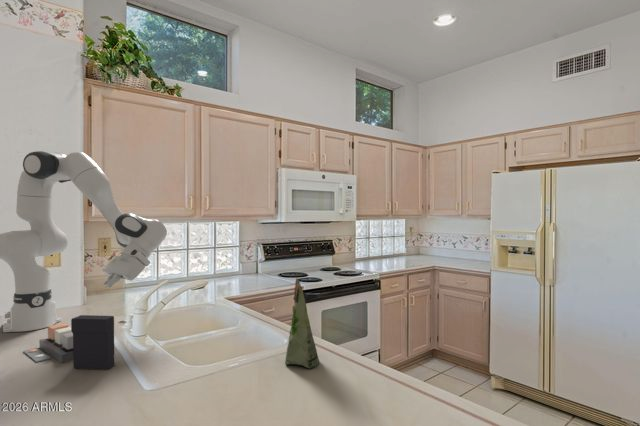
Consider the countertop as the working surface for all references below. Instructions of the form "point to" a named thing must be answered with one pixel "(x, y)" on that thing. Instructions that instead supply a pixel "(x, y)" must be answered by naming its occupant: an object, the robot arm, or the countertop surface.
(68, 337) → the grey key
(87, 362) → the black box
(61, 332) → the cream key
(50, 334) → the terracotta key
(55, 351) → the keyguard frame
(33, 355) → the card
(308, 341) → the green tall pyramid
